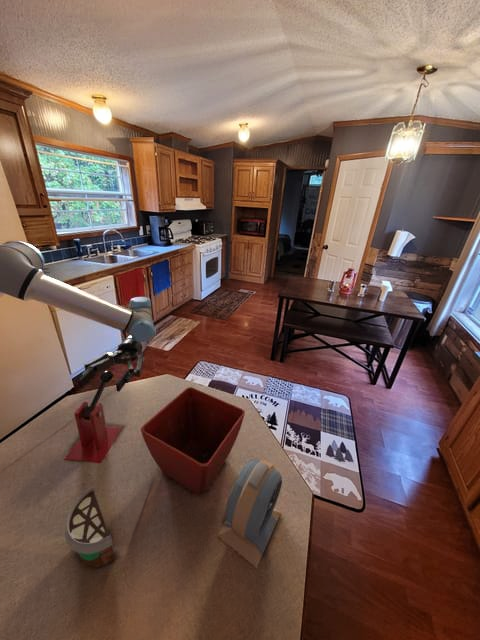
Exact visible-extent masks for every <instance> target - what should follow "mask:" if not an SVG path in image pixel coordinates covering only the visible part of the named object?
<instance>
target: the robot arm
mask: <svg viewBox="0 0 480 640" xmlns="http://www.w3.org/2000/svg"><path fill="white" fill-rule="evenodd" d="M45 265H46V263H45V257H44V255H43V254H42V252H41V251H40V250H39V249H38V248H36V247H35V246H34V245H32V244H31V243H28V242H25V241H20V240H10V241H5V242H3V243H2V244H0V299H2V298H3V297H4V296H5V295H7V296H10V297H12V298H15V299H18V300H22V301H25V302H28V301H32V300H33V301H35V302H38V303H42V304H44V305H47V306H50V307H53V308H55V309H59V310H62V311H64V312H67V313H70V314H73V315H75V316H79V317H82V318H84V319H87V320H90V321H93V322H95V323H98V324H101V325H103V326H106V327H109V328H112V329H114V330H118V331H121V332H124V333H127V334H129V335H128V336H127V338H125V339H124V341H123V342H122V343H120V344H119V346H118V347H117V349H116V350H115V351H113V352H110V351H109V350H104V352H102V354H100V355H98V356H96V357H95V358H92V359H91V360H89V361H88V362H86V363H84V364H83V367H84V372H83V373H82V374H81V377H80V378H79V379H78V380H77V382H78V387H79V389H83V388H84V387H85V386H86V385H87V384H88V383H89V382H90V381H91V380H92V379H93V378H94V377H95V376H96V373H98V372H99V371H101V370H103V369H106V368H109V367H110V366H115V365H119V364H120V365H127V369H128V370H125V371H124V373H123V374H122V375H121V377H120V378H119V379H118V381H116V383H115V387H116V388H115V389H116V392H120V391H121V390H122V389H123V388H124V386H125V385H126V384H128V383H130V381H131V380H132V379H133V378H134V377H137V378H140V377H141V376H142V371H143V366H144V365H143V364H144V363H145V362H146V356H145V355H146V354H145V353H143V352H144V351H145V349H146V348H147V347H148V346H149V344H150V343H151V342H152V341H153V340H154V338H155V336H156V334H157V328H156V327H155V324H154V320H153V313H152V301H151V299H150V298H149V297H147V296H136V297H133V298H130V300H129V308H127V307H124V306H122V305H119V304H117V303H114V302H113V301H110V300H107V299H104V298H102V297H100V296H98V295H95V294H92V293H89V292H87V291H85V290H83V289H80V288H78V287H75V286H72V285H70V284H68V283H65V282H62V281H60V280H58V279H55V278H52V277H50V276H48V275H45V273H44V271H43V270H44V268H45ZM134 361H137V362H136V368H135V369H134V366H133V362H134Z"/></svg>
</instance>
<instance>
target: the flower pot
mask: <svg viewBox="0 0 480 640" xmlns="http://www.w3.org/2000/svg"><path fill="white" fill-rule="evenodd" d="M245 413H246V411H245V410H244V409H243V408H241V407H239V406H237V405H235V404H232V403H230V402H227V401H225V400H222V399H220V398H217V397H216V396H213V395H211V394H209V393H206V392H204V391H201V390H199V389H197V388H195V387H192V386H189V387H186V388H185V389H184V390H183V391H181V392H180V393H179V394H178V395H177V396H176V397H175V398H174V399H172V400H171V401H170V402H169V403H168V404H166V406H164V407H163V408H162V409H161V410H159V411H158V412H157V413H156V414H154V416H152V417H151V418H150V419H149V420H148V421H147V422H146V423H144V424H143V425H142V426H141V427H140V432H141V436H142V438H143V441H144V443H145V445H146V447H147V449H148V451H149V454H150V456H151V457H152V459H153V461H154V462H155V463H156V465H157V466H158V468H159V469H160V470H161V472H162V473H163V475H165V476H167V477H168V478H170V479H172V480H173V481H175V482H176V483H178V484H180V485H181V486H183V487H184V488H185V489H187V490H189V491H191V492H192V493H193V494H195V495H197V496H200V497H201V496H203V495H204V493H205V492H206V491H207V489H208V488H209V486H210V485H211V484H212V482H213V480H214V479H215V477H217V474H218V473H219V472H220V470H221V468H222V467H223V465H224V463H225V462H226V460H227V459H228V457H229V455H230V453H231V451H232V449H233V447H234V445H235V443H236V441H237V438H238V436H239V434H240V431H241V427H242V425H243V422H244V418H245ZM204 452H205V455H203V453H204Z"/></svg>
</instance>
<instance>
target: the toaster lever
mask: <svg viewBox="0 0 480 640" xmlns="http://www.w3.org/2000/svg"><path fill="white" fill-rule="evenodd" d="M99 380H100V384H99V386H98V388H97V390H96V393H95V395H94V396H93V399H92V401H91V403H90V405H88V406H86V408H85V410H84V412H83V414H82V417H83V418H84V419H85V420H90V415H89V414H90V413H91V412H92V411H93V409H94V408H95V407H96V406H97V404H98V403H99V400H100V399H101V396H102V394H103V392H104V390H105V388H106V385H107V384H110V383H111V382H112V381H113V380H114V374H113V371H109V370H104V371H103V372H101V373H100V375H99Z"/></svg>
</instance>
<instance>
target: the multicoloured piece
mask: <svg viewBox="0 0 480 640" xmlns="http://www.w3.org/2000/svg"><path fill="white" fill-rule="evenodd" d="M65 540H66V543H67V545H68V546H69V548H70V549H71V550H72V551H74V552H76V553H77V554H78V556H79V558H80V560H81V561H82V563H83V564H84V565H85V566H86V567H89V568H90V569H91V568H92V569H99V568H103V567H106V566H108V565H110V564H111V563H113V562H114V561H116V558H115V557H116V556H115V552H114V546H113V544H114V543H113V539H112V536H111V534H110V533H109V530H108V528H107V525H106V522H105V519H104V516H103V513H102V511H101V508H100V505H99V502H98V499H97V496H96V492H95V487H94V486H92V487H90V488H89V489H87V490H86V491H85V492H83V494H81V495H80V496H79V498H77V500H75V502H74V504H73V506H72V508H71V509H70V511H69V513H68V516H67V519H66V524H65Z"/></svg>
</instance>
